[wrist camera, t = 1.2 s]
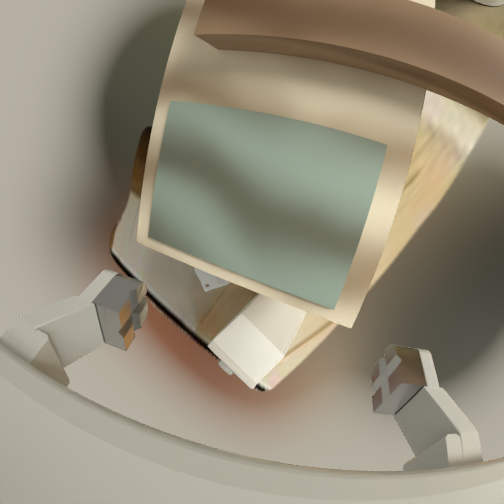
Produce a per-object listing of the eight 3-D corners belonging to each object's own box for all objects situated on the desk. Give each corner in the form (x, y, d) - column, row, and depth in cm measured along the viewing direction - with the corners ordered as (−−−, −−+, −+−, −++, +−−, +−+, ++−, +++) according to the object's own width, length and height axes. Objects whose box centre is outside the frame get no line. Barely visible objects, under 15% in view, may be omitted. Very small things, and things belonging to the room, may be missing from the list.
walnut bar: (232, 2, 15) (210, -17, 12) (541, 89, 9) (563, 79, 6) (217, 49, 16) (193, 34, 13) (537, 145, 10) (561, 142, 8)
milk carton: (280, 272, 47) (225, 329, 30) (311, 304, 47) (273, 376, 30) (252, 298, 50) (192, 359, 33) (281, 328, 50) (234, 400, 33)
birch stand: (288, 66, 38) (192, -25, 14) (402, 93, 33) (436, -4, 10) (255, 203, 46) (132, 242, 22) (363, 239, 41) (350, 331, 17)
